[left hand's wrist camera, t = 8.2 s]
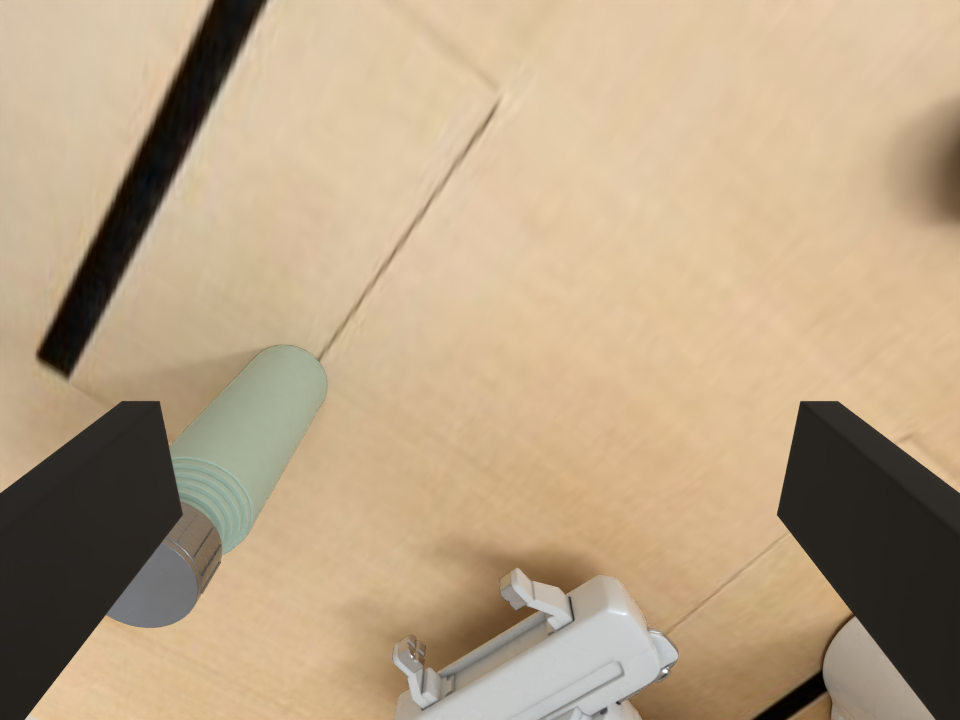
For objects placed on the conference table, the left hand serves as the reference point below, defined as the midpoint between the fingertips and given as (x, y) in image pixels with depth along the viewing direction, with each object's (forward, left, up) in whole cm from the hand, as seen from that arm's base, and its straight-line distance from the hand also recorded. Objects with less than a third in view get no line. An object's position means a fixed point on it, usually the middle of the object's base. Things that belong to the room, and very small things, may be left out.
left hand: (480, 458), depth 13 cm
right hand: (+23, -9, -21) cm, 32 cm away
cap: (+6, -15, -8) cm, 18 cm away
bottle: (+6, -15, -27) cm, 32 cm away
